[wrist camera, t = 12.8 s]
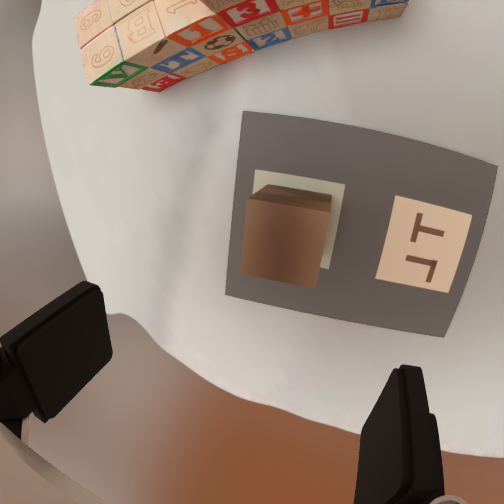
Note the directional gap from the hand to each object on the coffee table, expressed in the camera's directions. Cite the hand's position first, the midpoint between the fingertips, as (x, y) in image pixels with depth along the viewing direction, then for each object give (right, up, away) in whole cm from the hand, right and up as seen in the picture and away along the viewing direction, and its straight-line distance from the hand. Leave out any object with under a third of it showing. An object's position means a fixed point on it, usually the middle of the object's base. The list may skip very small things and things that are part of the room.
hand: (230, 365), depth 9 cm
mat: (+9, +5, +15) cm, 18 cm away
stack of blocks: (+2, +22, +11) cm, 25 cm away
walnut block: (+4, +6, +16) cm, 18 cm away
